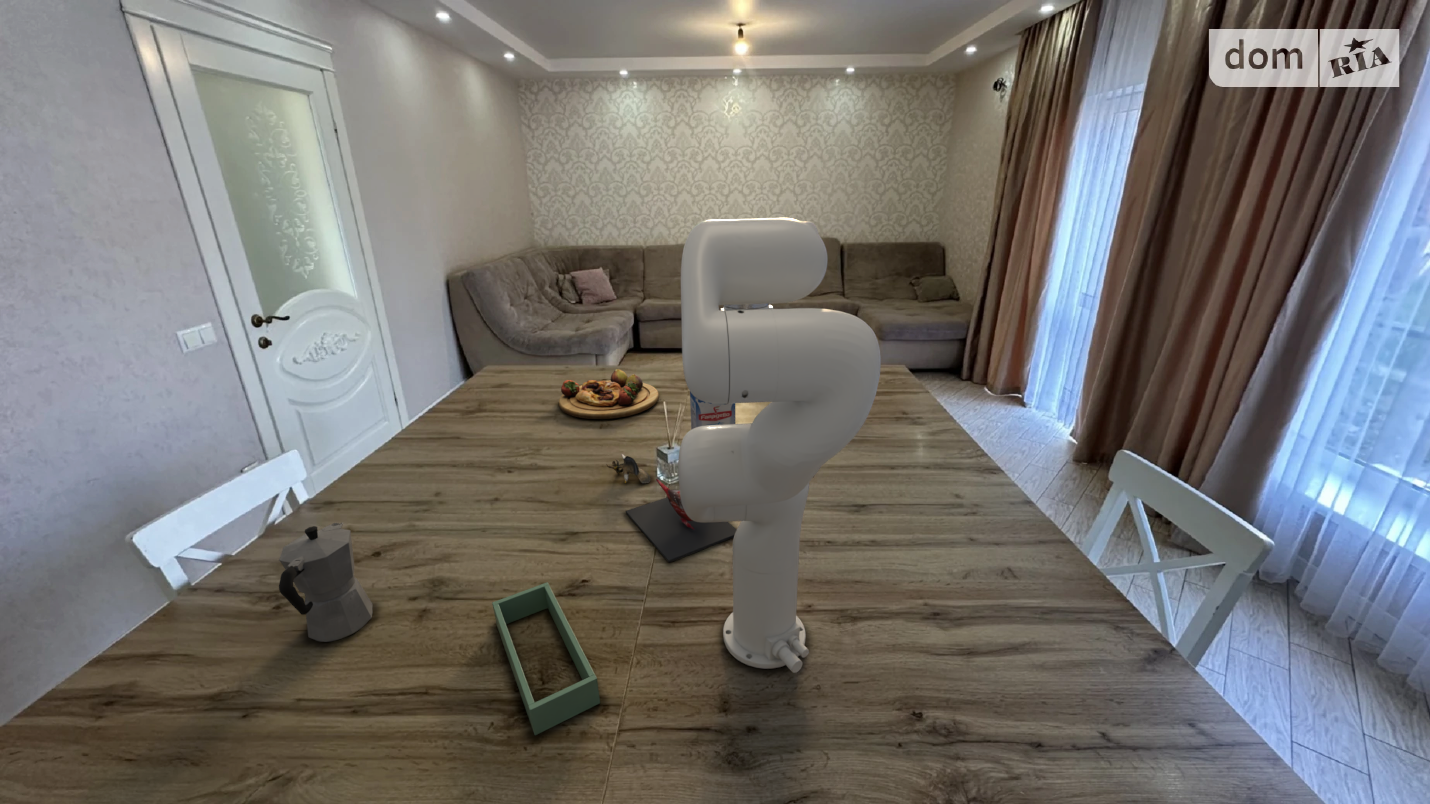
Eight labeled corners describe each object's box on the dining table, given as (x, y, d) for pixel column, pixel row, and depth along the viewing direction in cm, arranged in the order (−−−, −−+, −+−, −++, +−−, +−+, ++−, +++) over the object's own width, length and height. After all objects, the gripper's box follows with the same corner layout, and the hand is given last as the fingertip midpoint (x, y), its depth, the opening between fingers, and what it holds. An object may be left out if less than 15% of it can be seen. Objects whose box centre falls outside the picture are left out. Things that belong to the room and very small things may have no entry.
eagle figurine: (604, 481, 128) (637, 481, 125) (606, 451, 130) (639, 450, 126) (622, 484, 135) (654, 484, 131) (624, 455, 137) (656, 454, 133)
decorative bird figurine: (701, 543, 106) (699, 498, 103) (651, 505, 119) (648, 464, 116) (712, 537, 108) (711, 493, 104) (663, 501, 121) (660, 460, 117)
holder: (600, 703, 74) (597, 678, 73) (534, 735, 70) (529, 710, 68) (551, 603, 92) (547, 581, 91) (496, 624, 88) (491, 602, 87)
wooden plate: (539, 415, 170) (535, 390, 167) (590, 382, 198) (587, 360, 195) (634, 426, 161) (631, 399, 158) (673, 389, 189) (671, 366, 186)
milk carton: (697, 466, 137) (695, 391, 129) (691, 456, 142) (689, 383, 135) (735, 461, 139) (735, 387, 132) (728, 450, 145) (728, 378, 137)
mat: (740, 534, 110) (740, 532, 109) (669, 563, 102) (668, 560, 102) (690, 491, 126) (690, 489, 125) (625, 513, 118) (625, 510, 118)
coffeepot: (333, 596, 95) (303, 506, 89) (390, 591, 96) (364, 502, 89) (276, 668, 81) (235, 567, 74) (344, 662, 82) (309, 562, 75)
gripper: (713, 309, 84) (715, 413, 90) (801, 296, 92) (797, 392, 98) (689, 302, 90) (693, 399, 96) (773, 290, 98) (772, 381, 104)
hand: (746, 396), depth 97 cm, fingers open, 9 cm apart
